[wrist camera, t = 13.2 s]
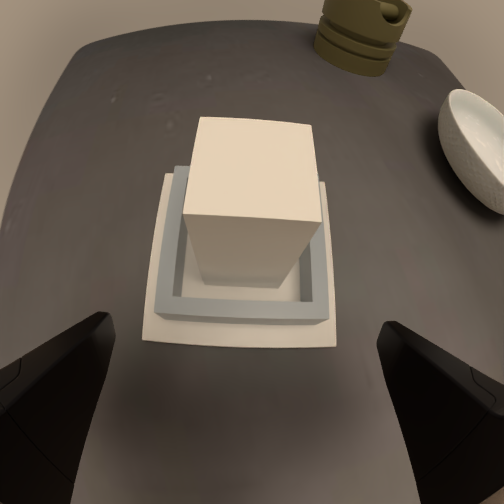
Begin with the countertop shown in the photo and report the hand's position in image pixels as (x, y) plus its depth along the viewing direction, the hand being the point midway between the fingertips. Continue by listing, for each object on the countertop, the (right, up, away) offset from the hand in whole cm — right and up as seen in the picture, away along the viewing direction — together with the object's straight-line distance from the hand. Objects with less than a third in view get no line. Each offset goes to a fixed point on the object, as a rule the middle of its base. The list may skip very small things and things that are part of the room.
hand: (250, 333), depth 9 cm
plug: (-1, +2, +12) cm, 12 cm away
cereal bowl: (+28, +12, +19) cm, 36 cm away
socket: (-1, +2, +13) cm, 13 cm away
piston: (+15, +31, +25) cm, 43 cm away
